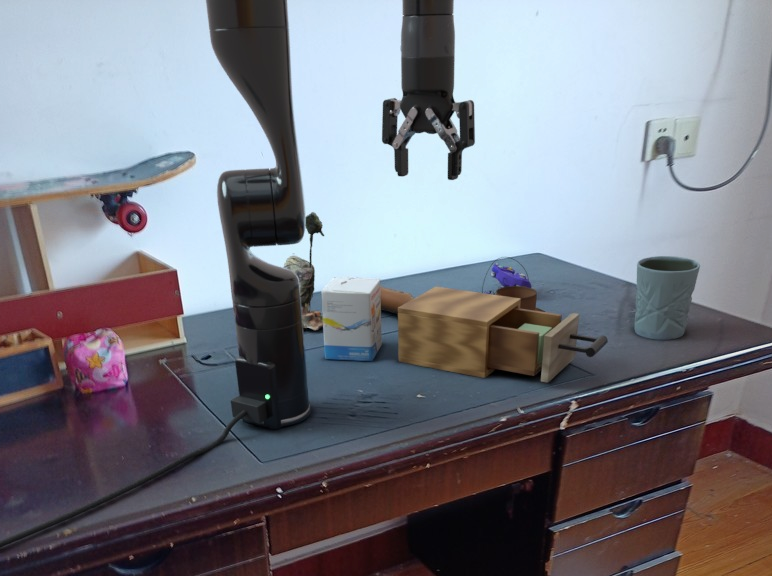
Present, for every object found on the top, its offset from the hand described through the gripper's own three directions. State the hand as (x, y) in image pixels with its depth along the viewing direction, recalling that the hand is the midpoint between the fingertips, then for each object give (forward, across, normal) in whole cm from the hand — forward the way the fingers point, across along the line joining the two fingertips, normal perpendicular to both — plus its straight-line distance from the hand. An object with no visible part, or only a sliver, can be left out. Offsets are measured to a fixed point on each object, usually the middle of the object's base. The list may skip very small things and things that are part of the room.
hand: (427, 177), depth 124 cm
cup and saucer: (+28, -7, -21) cm, 36 cm away
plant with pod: (+28, +28, -4) cm, 40 cm away
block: (+26, -18, -2) cm, 32 cm away
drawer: (+27, -19, -2) cm, 33 cm away
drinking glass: (+28, -31, -29) cm, 51 cm away
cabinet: (+28, -5, -2) cm, 29 cm away
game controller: (+28, +1, -36) cm, 46 cm away
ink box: (+28, +12, +4) cm, 31 cm away
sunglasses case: (+28, +17, -19) cm, 38 cm away
